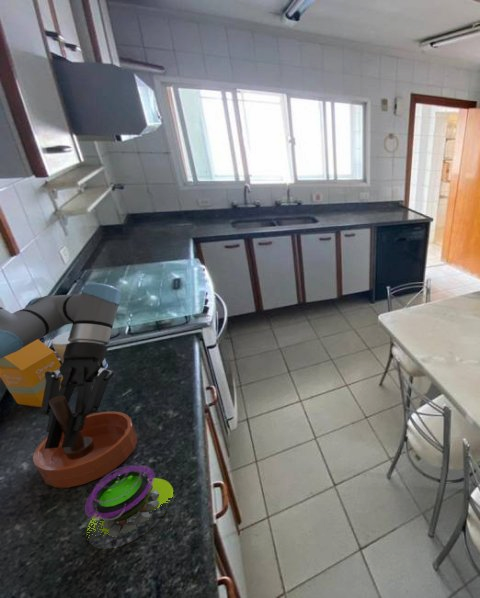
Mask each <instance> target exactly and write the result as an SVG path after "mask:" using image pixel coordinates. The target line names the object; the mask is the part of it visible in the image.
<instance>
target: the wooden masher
mask: <svg viewBox="0 0 480 598" xmlns="http://www.w3.org/2000/svg"><path fill="white" fill-rule="evenodd" d="M49 404H50V407H51V409H52V411H53V413H54V415H55V417H56V419H57V421H58V423H59V425H60V427H61V429H62V431H63V433H64V435H65V433H66V430H67V426H68V422H69V419H70V417H71V416H73V415H72V414H73V412H72V409H71V406H70V405H69V403H68V402H67V400H66V398H65V396H56V397H54V398H52V399H50V400H49ZM94 447H95V445H94V442H93V440H92V438H91V437H83V435H82V433H81V431H79V433H78V436H77V440H76V444H75V447H65V448H64V453H65V455H66V457H67V458H68V459H70V460H74V459H79V458H82V457H84V456H86V455H87V454H89V453H90V452H91V451H92V450H93V449H94Z"/></svg>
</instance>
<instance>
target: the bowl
mask: <svg viewBox="0 0 480 598" xmlns="http://www.w3.org/2000/svg"><path fill="white" fill-rule="evenodd" d="M81 433H82V435H83V437H91V438H92V440H93V442H94V445H95V447H94V449H93V450H92V451H91V452H90V453H89V454H87V455H86V456H84V457H82V458H79V459H74V460H70V459H68V458H67V457H66V455H65V453H64V448H62V444H63V441H64V437H65V435H64V433H63V432H62V436H61V440H60V443H59V447H58V448H49V449H44V448H45V445H46V441H47V438H48V436H46V438H44V439H43V440H41V442H40V444H39V445H38V446H37V448H36V449H35V450H34V452H33V457H32V462H33V463H34V465H35V467H36V469H37V471H38V472H39V474H40V476H41V478H42V480H43V481H44V483H45V484H46V485H48V486H51V487H54V488H64V489H66V488H67V489H68V488H73V487H77V486H82V485H85V484H87V483H90V482H92V481H95V480H97V479H100V478H102V477H105V476H106V475H107V474H110V473H111V472H112V471H114V470H116V469H117V468H118V467H119V466H121V465H122V464H123V463H124V462H126V460H127V459H128V458H129V457H130V456H131V454H132V453H133V452H134V451H135V449H136V447H137V445H138V434H137V432H136V428H135V426H134V424H133V420H132V418H131V417H130V416H129V415H128V414H127V413H124V412H121V411H109V410H108V411H101V412H95V413H91V414H88V415H87V416H86V419H85V423H84V427H83V429H82V431H81Z"/></svg>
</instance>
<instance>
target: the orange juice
mask: <svg viewBox="0 0 480 598" xmlns="http://www.w3.org/2000/svg"><path fill="white" fill-rule="evenodd" d="M61 365H62V363H61V361H60V359H59V357H58V355H57V353H56V352H55V350H53V349H52V348H50V347H49V346H47V344H45V343H44V342H43V341H41V340H40V338H39V339H37V340H35V341H34V342H32V343H30V344H28V345H27V346H25V347H23V348H22V349H20V350H18V351H17V352H14V353H11V354H9V355H7V356H5V357H3V358H0V379H1V381H2V382H3V384H4V385H5V387H6V388H7V391H8V392H9V394H11V396H12V398H13V400H14V401H15V402H16V404H17V405H22V406H23V405H24V406H30V407H39V408H41V407H42V402H43V396H44V391H45V385H46V379H45V373H46V372H47V371H50V372H52V371H55V370H57V369H59V368H60V366H61ZM61 376H62V375H61ZM62 379H63V376H62V378H60V384H61V381H62ZM60 388H61V385H60ZM60 388H59V390H60Z"/></svg>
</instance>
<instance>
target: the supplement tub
mask: <svg viewBox="0 0 480 598" xmlns="http://www.w3.org/2000/svg"><path fill="white" fill-rule="evenodd" d="M70 331H71V330H68V331H66V332H63V333H61V334H59V335H57V336H55V337H54V338H53V339H52V340H51V345H52V348H53V349H54V352H55V354H56V356H57V357H58V359H59V361H60V363H61V365H62V364H63V362H64V358H63V355H64V352H65V349H66V345H67V344H69V343H71V342H69V341H68V338H69V335H70ZM103 366H104V367H103V368H104V369H106V370H107V368H108V366H109V365H108V362H107V360H106V358H105V359H104V360H103Z"/></svg>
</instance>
